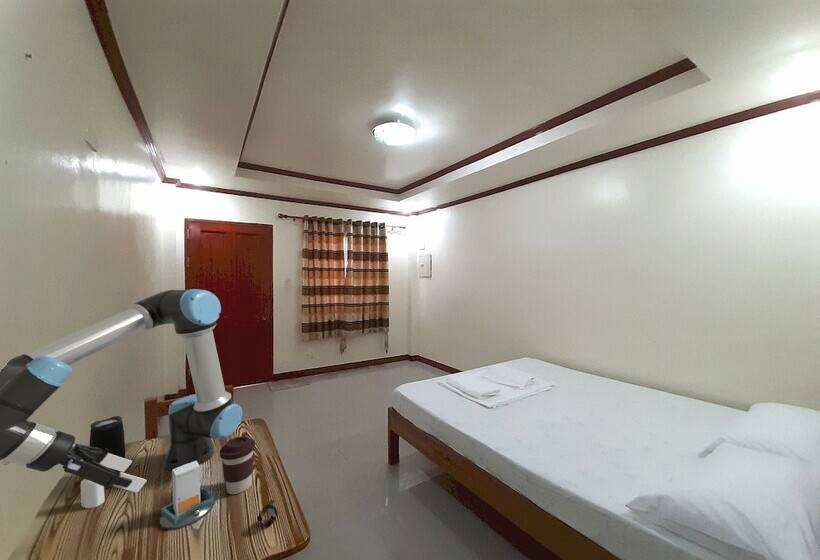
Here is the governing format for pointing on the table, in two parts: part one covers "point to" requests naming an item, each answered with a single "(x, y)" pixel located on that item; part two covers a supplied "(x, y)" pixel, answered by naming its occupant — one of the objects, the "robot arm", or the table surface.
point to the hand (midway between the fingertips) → (134, 475)
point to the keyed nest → (187, 513)
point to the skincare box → (186, 487)
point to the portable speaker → (109, 436)
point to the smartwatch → (271, 511)
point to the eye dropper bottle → (91, 494)
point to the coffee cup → (238, 464)
